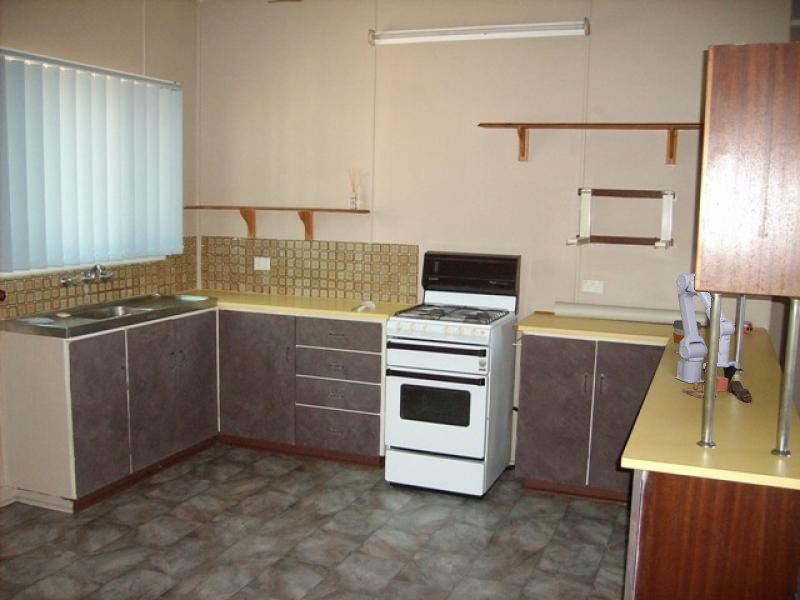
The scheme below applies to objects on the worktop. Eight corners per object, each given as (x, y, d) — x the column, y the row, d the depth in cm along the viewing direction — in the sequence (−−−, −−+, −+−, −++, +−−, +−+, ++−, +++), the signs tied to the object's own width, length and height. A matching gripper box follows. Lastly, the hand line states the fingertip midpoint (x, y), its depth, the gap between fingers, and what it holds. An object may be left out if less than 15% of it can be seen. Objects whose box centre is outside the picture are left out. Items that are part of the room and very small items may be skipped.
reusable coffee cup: (703, 355, 374) (705, 324, 372) (677, 355, 374) (679, 324, 372) (692, 350, 387) (694, 320, 385) (667, 350, 386) (669, 319, 384)
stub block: (682, 391, 307) (683, 381, 306) (699, 390, 310) (700, 379, 309) (699, 398, 298) (700, 387, 297) (717, 397, 300) (718, 386, 300)
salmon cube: (709, 388, 313) (710, 376, 312) (719, 388, 314) (720, 375, 313) (717, 391, 308) (718, 379, 307) (727, 390, 310) (728, 378, 309)
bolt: (744, 408, 293) (731, 396, 308) (757, 402, 292) (743, 390, 307) (738, 394, 292) (725, 383, 307) (751, 388, 291) (737, 377, 306)
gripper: (712, 354, 303) (710, 389, 305) (743, 353, 307) (741, 387, 309) (700, 351, 309) (698, 384, 311) (731, 349, 314) (728, 382, 316)
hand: (718, 385), depth 311 cm, fingers open, 7 cm apart
